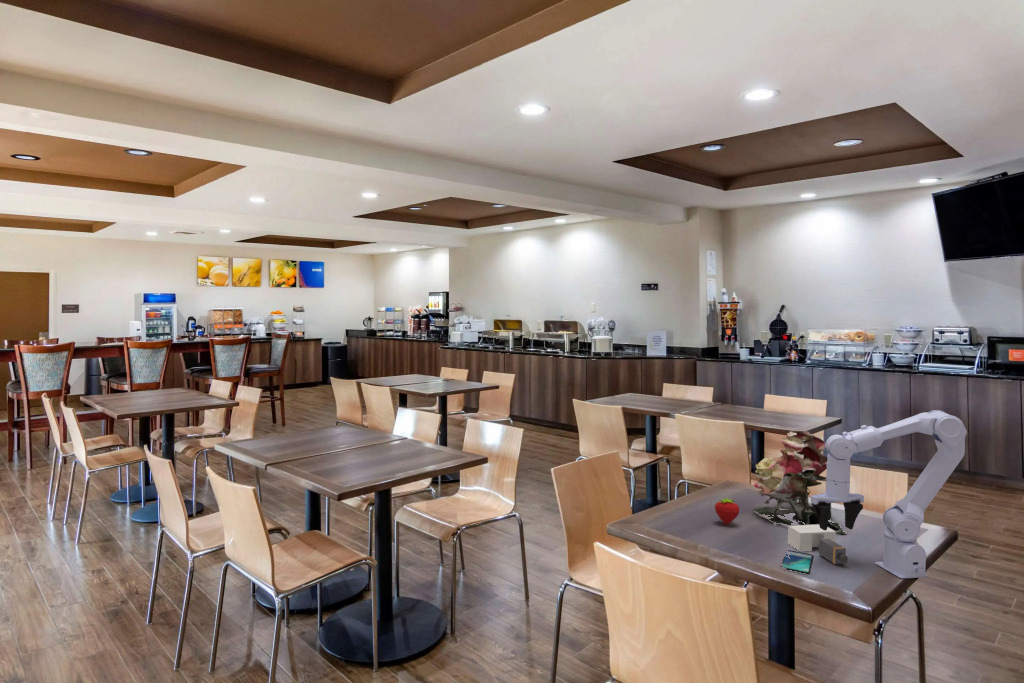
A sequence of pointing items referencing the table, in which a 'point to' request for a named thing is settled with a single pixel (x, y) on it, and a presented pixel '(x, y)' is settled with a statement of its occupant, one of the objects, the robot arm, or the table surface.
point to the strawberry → (727, 510)
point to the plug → (832, 551)
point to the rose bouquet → (793, 477)
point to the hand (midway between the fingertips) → (836, 528)
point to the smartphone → (798, 562)
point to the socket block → (808, 536)
